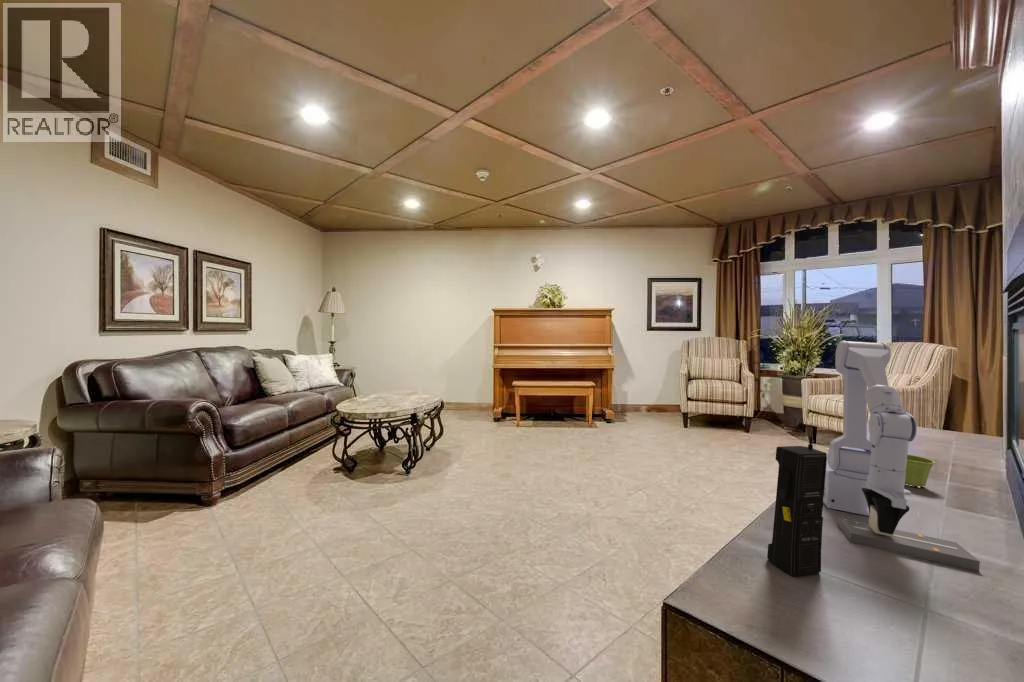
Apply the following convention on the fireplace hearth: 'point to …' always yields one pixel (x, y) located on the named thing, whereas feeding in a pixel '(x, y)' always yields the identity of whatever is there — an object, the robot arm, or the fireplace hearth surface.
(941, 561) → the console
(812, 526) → the portable radio
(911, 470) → the plant pot
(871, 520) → the fader
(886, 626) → the fireplace hearth surface
